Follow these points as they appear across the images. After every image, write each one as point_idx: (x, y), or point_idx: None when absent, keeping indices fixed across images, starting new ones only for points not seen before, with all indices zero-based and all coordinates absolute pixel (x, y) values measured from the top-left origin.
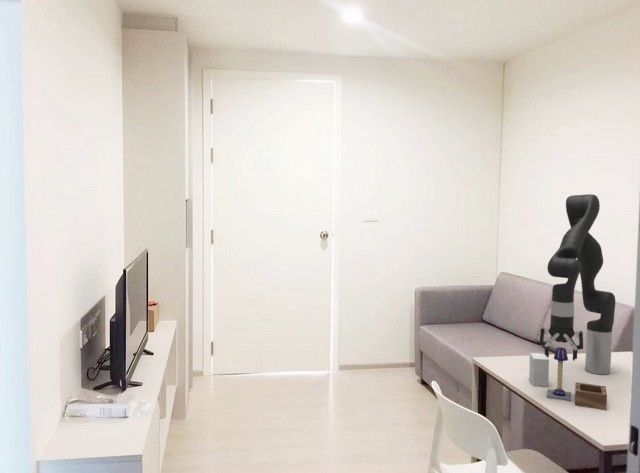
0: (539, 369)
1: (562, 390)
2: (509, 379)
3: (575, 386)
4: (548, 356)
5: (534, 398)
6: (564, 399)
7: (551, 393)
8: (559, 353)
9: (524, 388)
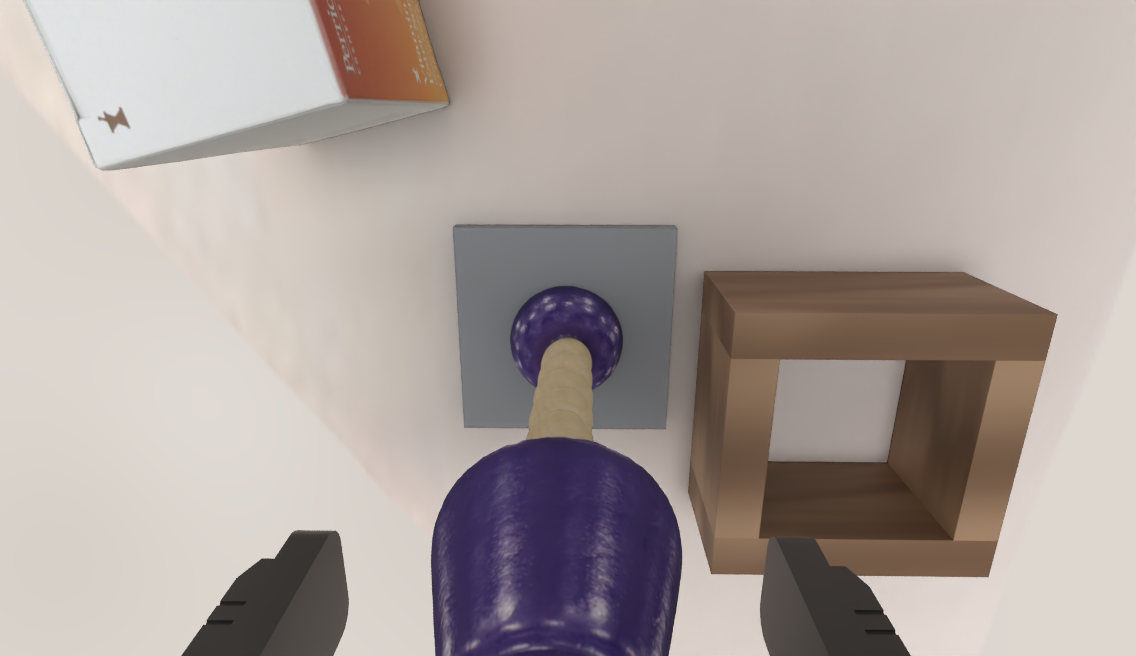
0: (281, 139)
1: (593, 370)
2: (29, 33)
3: (723, 389)
4: (340, 634)
5: (379, 475)
6: (610, 425)
7: (499, 347)
8: None
9: (249, 265)
